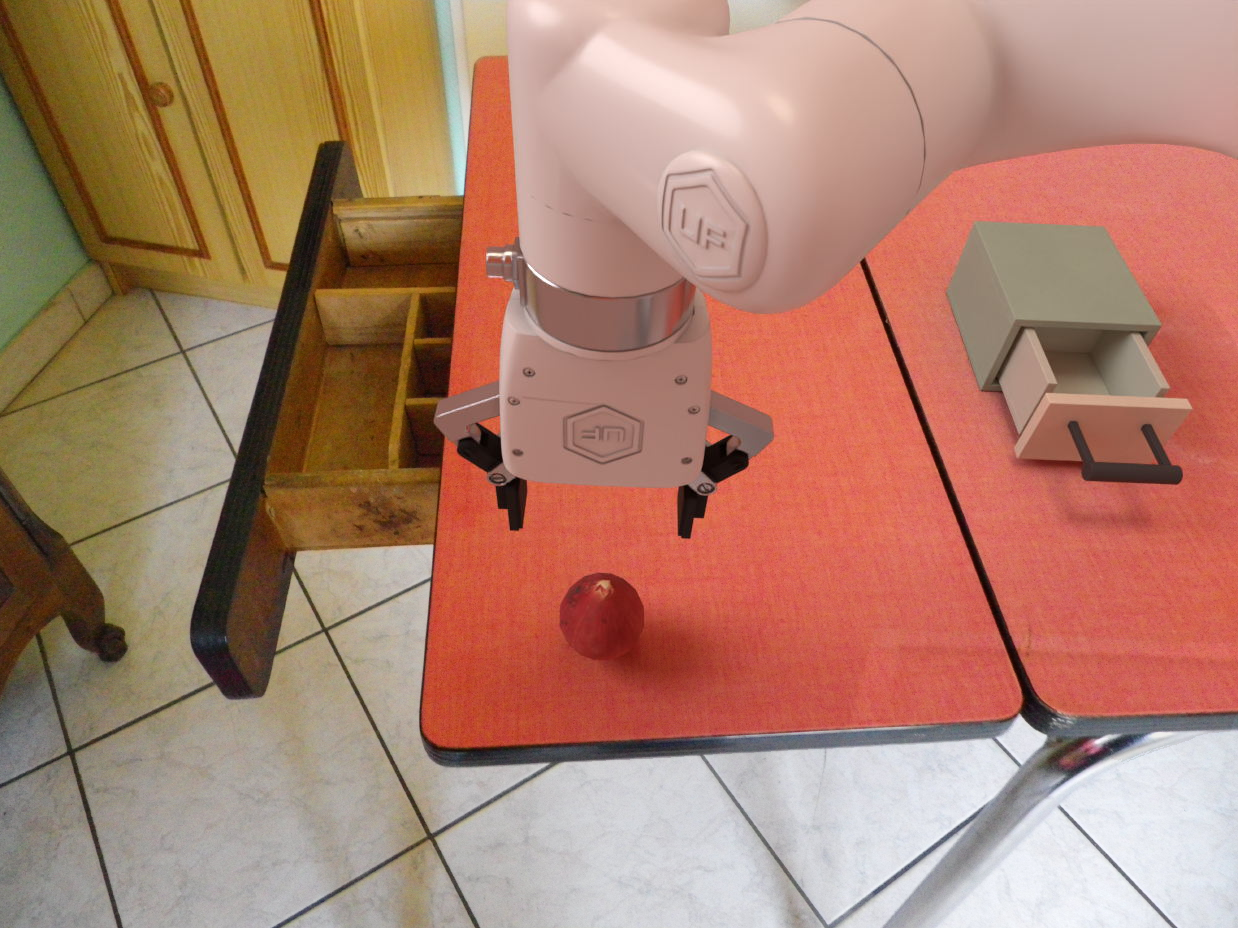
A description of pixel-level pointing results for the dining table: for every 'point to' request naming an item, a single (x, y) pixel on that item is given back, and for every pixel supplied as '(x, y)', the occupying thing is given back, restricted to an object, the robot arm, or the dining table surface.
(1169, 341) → the dining table surface
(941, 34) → the robot arm
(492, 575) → the dining table surface
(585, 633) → the onion
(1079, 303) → the cabinet
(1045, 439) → the drawer
